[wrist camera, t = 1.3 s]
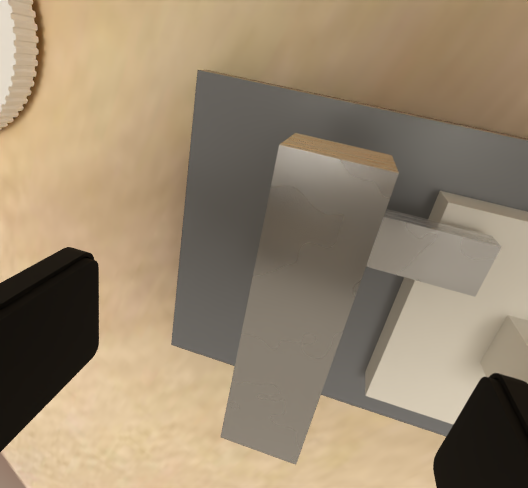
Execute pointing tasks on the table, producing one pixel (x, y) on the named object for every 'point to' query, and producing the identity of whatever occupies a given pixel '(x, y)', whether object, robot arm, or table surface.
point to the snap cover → (457, 322)
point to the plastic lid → (16, 56)
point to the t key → (327, 280)
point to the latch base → (257, 193)
